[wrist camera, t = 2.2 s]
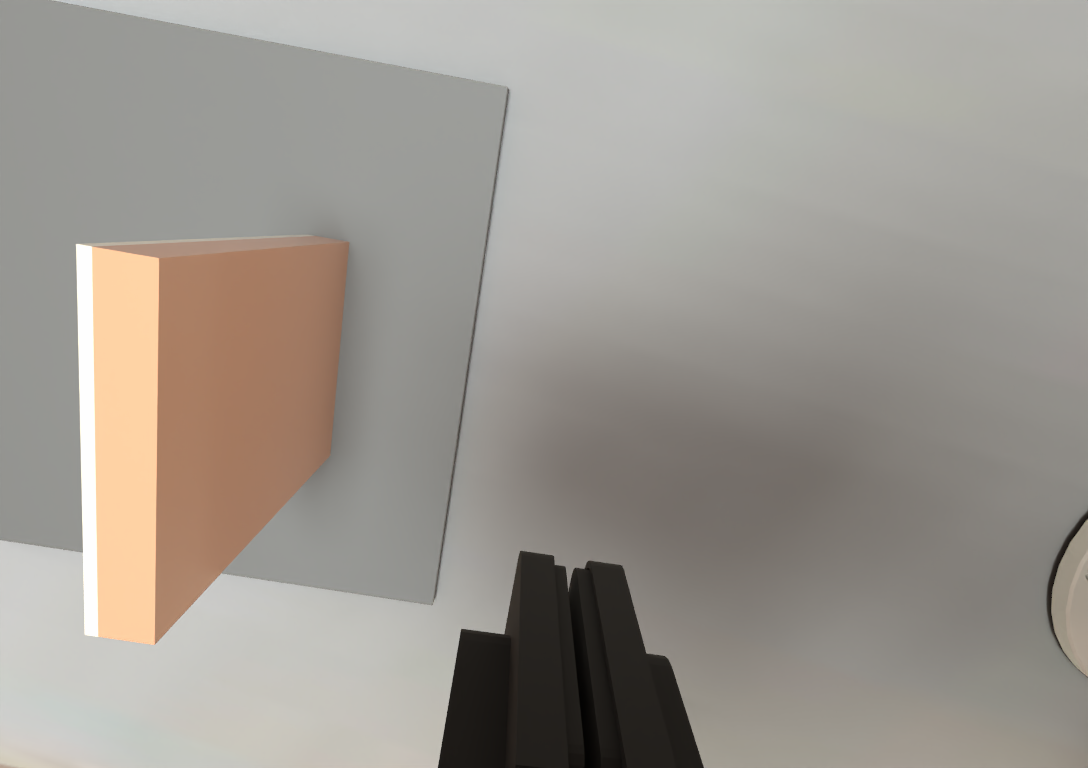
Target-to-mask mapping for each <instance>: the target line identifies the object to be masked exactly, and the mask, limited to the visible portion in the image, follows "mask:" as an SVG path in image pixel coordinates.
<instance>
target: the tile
mask: <svg viewBox="0 0 1088 768" xmlns="http://www.w3.org/2000/svg"><path fill="white" fill-rule="evenodd" d="M348 251H349V242H348V241H342V240H336V239H331V238H325V237H319V236H314V235H283V236H259V237H234V238H210V239H185V240H161V241H136V242H111V243H87V244H76V257H77V302H78V346H79V391H80V435H81V480H82V525H83V569H84V614H85V635H90V636H97V637H104V638H111V639H118V640H125V641H132V642H139V643H145V644H152V645H155V644H156V643H157V642H158V641H159V640H160V638H161V637H162V636H163V635H164V634H165V633H166V632H167V631H168V630H169V629H170V628H171V627H172V626H173V624H174V623H175V622H176V621H177V620H178V619H179V618H180V617H181V616H182V615H183V614H184V613H185V612H186V610H187V609H188V608H189V607H190V606H191V605H192V604H193V603H194V602H195V601H196V600H197V599H198V598H199V596H200V595H201V594H202V593H203V592H204V591H205V590H206V589H207V588H208V587H209V586H210V585H211V584H212V582H213V581H214V580H215V579H216V578H217V577H218V576H219V575H220V574H221V573H222V572H223V571H224V569H225V568H226V567H227V566H228V565H229V564H230V563H231V562H232V561H233V560H234V559H235V558H236V557H237V555H238V554H239V553H240V552H241V551H242V550H243V549H244V548H245V547H246V546H247V545H248V544H249V543H250V541H251V540H252V539H253V538H254V537H255V536H256V535H257V534H258V533H259V532H260V531H261V530H262V529H263V527H264V526H265V525H266V524H267V523H268V522H269V521H270V520H271V519H272V518H273V517H274V516H275V515H276V513H277V512H278V511H279V510H280V509H281V508H282V507H283V506H284V505H285V504H286V503H287V502H288V501H289V499H290V498H291V497H292V496H293V495H294V494H295V493H296V492H297V491H298V490H299V489H300V488H301V486H302V485H303V484H304V483H305V482H306V481H307V480H308V479H309V478H310V477H311V476H312V475H313V474H314V472H315V471H316V470H317V469H318V468H319V467H320V466H321V465H322V464H323V463H324V462H325V461H326V460H327V458H328V457H329V456H330V452H331V441H332V430H333V419H334V408H335V396H336V385H337V374H338V363H339V352H340V341H341V330H342V318H343V307H344V296H345V285H346V274H347V263H348Z"/></svg>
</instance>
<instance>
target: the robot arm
mask: <svg viewBox="0 0 1088 768" xmlns="http://www.w3.org/2000/svg"><path fill="white" fill-rule="evenodd" d="M1051 613H1052V619H1053V625H1054V630H1055V634H1056V636H1057V638H1058V640H1059V643H1060V645H1061V647H1062V649H1063V651H1064V653H1065V654H1066V655H1067V656H1068V658H1069V659H1070V660H1071V661H1072V663H1073V664H1074V665H1075V666H1076V668H1078V669H1079V670H1080V671H1081V672H1082V673H1084V674H1085V675H1086V676H1087V677H1088V519H1087V520H1086V521H1085V523H1084V524H1083V526H1082V527H1081V528H1080V530H1079V531H1078V532H1077V534H1076V535H1075V536H1074V538H1073V539H1072V541H1071V542H1070V544H1069V546H1068V548H1067V550H1066V552H1065V554H1064V556H1063V558H1062V560H1061V562H1060V564H1059V567H1058V571H1057V574H1056V578H1055V582H1054V585H1053V589H1052V606H1051ZM438 768H704V767H703V764H702V761H701V757H700V754H699V751H698V748H697V745H696V742H695V739H694V735H693V732H692V729H691V726H690V723H689V720H688V717H687V713H686V710H685V707H684V704H683V701H682V698H681V694H680V691H679V688H678V685H677V682H676V679H675V676H674V672H673V669H672V666H671V664H670V662H669V660H668V659H667V658H666V657H665V656H660V655H653V654H646V651H645V647H644V644H643V640H642V636H641V632H640V629H639V625H638V621H637V618H636V614H635V610H634V606H633V603H632V599H631V595H630V591H629V588H628V584H627V580H626V576H625V573H624V569H623V567H622V566H621V565H615V564H608V563H601V562H594V561H588V562H587V564H586V567H585V569H579V568H575V569H574V571H573V574H572V578H571V583H570V587H569V592H568V585H567V575H566V568H565V566H558V565H555V564H554V556H552V555H545V554H538V553H531V552H524V551H520V554H519V558H518V563H517V569H516V574H515V580H514V585H513V590H512V596H511V601H510V607H509V612H508V618H507V623H506V629H505V634H504V635H503V634H496V633H488V632H481V631H473V630H466V629H461V634H460V640H459V646H458V652H457V658H456V664H455V670H454V676H453V682H452V687H451V693H450V699H449V705H448V711H447V717H446V723H445V729H444V735H443V741H442V747H441V753H440V759H439V765H438Z"/></svg>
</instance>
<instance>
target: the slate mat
mask: <svg viewBox="0 0 1088 768" xmlns="http://www.w3.org/2000/svg"><path fill="white" fill-rule="evenodd" d="M508 91H509V90H508V87H506V86H501V85H496V84H490V83H485V82H480V81H474V80H469V79H464V78H459V77H453V76H448V75H443V74H437V73H432V72H427V71H422V70H416V69H411V68H406V67H400V66H395V65H390V64H385V63H379V62H374V61H369V60H364V59H358V58H353V57H348V56H342V55H337V54H332V53H327V52H321V51H316V50H311V49H305V48H300V47H295V46H290V45H284V44H279V43H274V42H269V41H263V40H258V39H253V38H247V37H242V36H237V35H232V34H226V33H221V32H216V31H210V30H205V29H200V28H195V27H189V26H184V25H179V24H174V23H168V22H163V21H158V20H152V19H147V18H142V17H137V16H131V15H126V14H121V13H115V12H110V11H105V10H100V9H94V8H89V7H84V6H79V5H73V4H68V3H63V2H57V1H52V0H0V540H4V541H10V542H17V543H24V544H30V545H37V546H43V547H50V548H57V549H63V550H70V551H77V552H83V525H82V480H81V435H80V391H79V346H78V302H77V257H76V244H87V243H111V242H136V241H161V240H185V239H210V238H234V237H259V236H283V235H314V236H319V237H325V238H331V239H336V240H342V241H348V242H349V251H348V263H347V274H346V285H345V296H344V307H343V318H342V330H341V341H340V352H339V363H338V374H337V385H336V396H335V408H334V419H333V430H332V441H331V452H330V456H329V457H328V458H327V460H326V461H325V462H324V463H323V464H322V465H321V466H320V467H319V468H318V469H317V470H316V471H315V472H314V474H313V475H312V476H311V477H310V478H309V479H308V480H307V481H306V482H305V483H304V484H303V485H302V486H301V488H300V489H299V490H298V491H297V492H296V493H295V494H294V495H293V496H292V497H291V498H290V499H289V501H288V502H287V503H286V504H285V505H284V506H283V507H282V508H281V509H280V510H279V511H278V512H277V513H276V515H275V516H274V517H273V518H272V519H271V520H270V521H269V522H268V523H267V524H266V525H265V526H264V527H263V529H262V530H261V531H260V532H259V533H258V534H257V535H256V536H255V537H254V538H253V539H252V540H251V541H250V543H249V544H248V545H247V546H246V547H245V548H244V549H243V550H242V551H241V552H240V553H239V554H238V555H237V557H236V558H235V559H234V560H233V561H232V562H231V563H230V564H229V565H228V566H227V567H226V568H225V569H224V571H223V572H222V574H229V575H235V576H242V577H249V578H255V579H262V580H268V581H275V582H282V583H288V584H295V585H302V586H308V587H315V588H321V589H328V590H335V591H341V592H348V593H355V594H361V595H368V596H374V597H381V598H388V599H394V600H401V601H407V602H414V603H421V604H427V605H433V601H434V598H435V592H436V585H437V578H438V571H439V564H440V557H441V551H442V544H443V537H444V530H445V523H446V516H447V509H448V503H449V496H450V489H451V482H452V475H453V468H454V462H455V455H456V448H457V441H458V434H459V427H460V420H461V414H462V407H463V400H464V393H465V386H466V379H467V372H468V366H469V359H470V352H471V345H472V338H473V331H474V324H475V318H476V311H477V304H478V297H479V290H480V283H481V276H482V270H483V263H484V256H485V249H486V242H487V235H488V228H489V222H490V215H491V208H492V201H493V194H494V187H495V180H496V174H497V167H498V160H499V153H500V146H501V139H502V132H503V126H504V119H505V112H506V105H507V98H508Z"/></svg>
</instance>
